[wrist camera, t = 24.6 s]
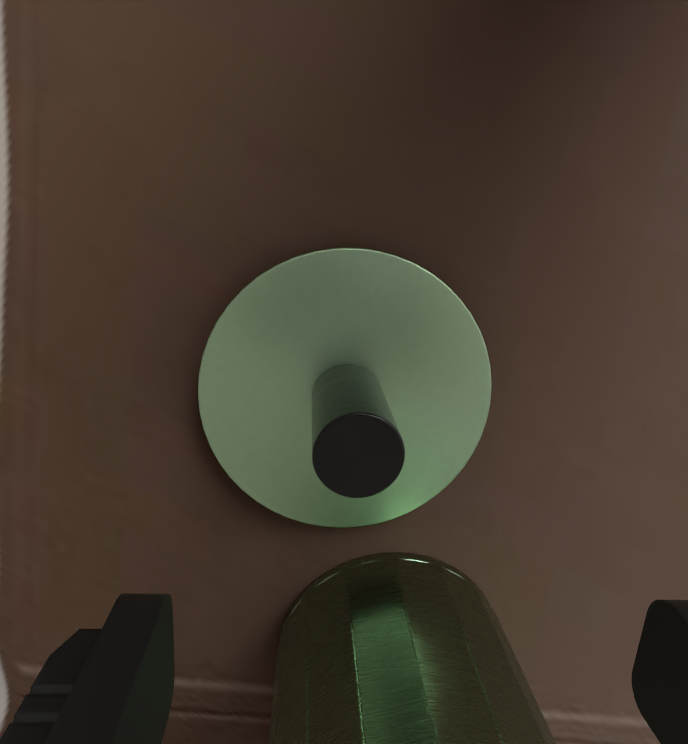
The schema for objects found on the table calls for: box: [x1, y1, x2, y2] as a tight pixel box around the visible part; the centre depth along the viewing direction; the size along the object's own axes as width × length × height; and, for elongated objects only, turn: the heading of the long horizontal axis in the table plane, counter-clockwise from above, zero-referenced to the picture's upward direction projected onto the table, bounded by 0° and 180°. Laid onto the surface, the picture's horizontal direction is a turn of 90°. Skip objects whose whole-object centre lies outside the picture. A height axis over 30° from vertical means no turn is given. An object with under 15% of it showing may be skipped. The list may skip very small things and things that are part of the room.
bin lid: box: [198, 247, 492, 528], centre depth 19 cm, size 12×12×7 cm
